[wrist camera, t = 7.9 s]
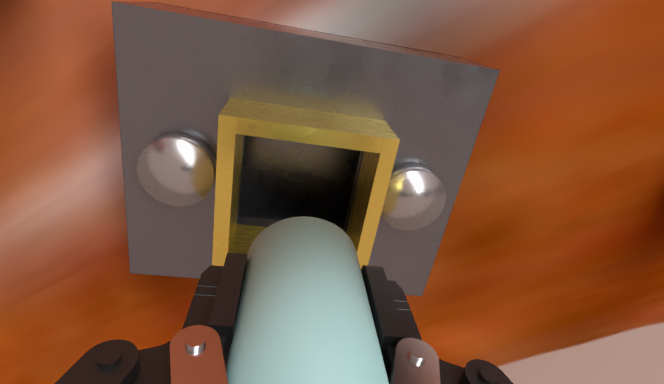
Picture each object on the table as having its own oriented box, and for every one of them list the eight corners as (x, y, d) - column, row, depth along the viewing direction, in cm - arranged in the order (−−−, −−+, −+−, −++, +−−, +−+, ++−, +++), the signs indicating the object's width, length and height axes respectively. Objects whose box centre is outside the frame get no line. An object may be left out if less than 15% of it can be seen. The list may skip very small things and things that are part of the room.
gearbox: (458, 56, 26) (535, 81, 18) (401, 248, 33) (438, 333, 25) (153, 2, 23) (72, 0, 15) (159, 225, 30) (106, 311, 22)
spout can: (367, 223, 15) (470, 532, 6) (346, 309, 16) (401, 641, 8) (251, 210, 14) (182, 539, 5) (242, 302, 16) (180, 656, 7)
